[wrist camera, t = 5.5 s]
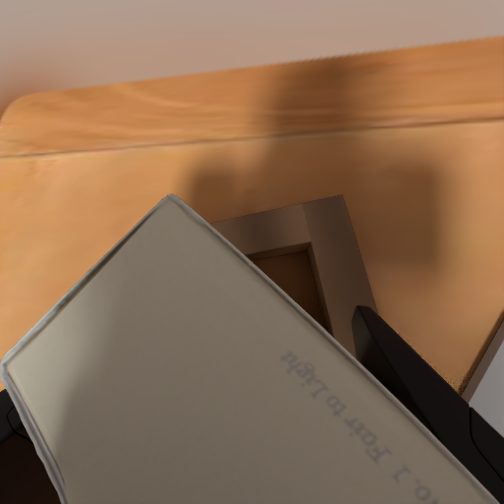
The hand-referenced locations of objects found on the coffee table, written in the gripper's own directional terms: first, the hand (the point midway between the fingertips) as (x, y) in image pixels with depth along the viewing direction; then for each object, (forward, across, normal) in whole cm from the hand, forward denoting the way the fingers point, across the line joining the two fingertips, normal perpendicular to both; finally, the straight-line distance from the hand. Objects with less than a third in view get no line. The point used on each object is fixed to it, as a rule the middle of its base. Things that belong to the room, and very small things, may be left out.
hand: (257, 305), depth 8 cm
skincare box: (+4, 0, +6) cm, 7 cm away
